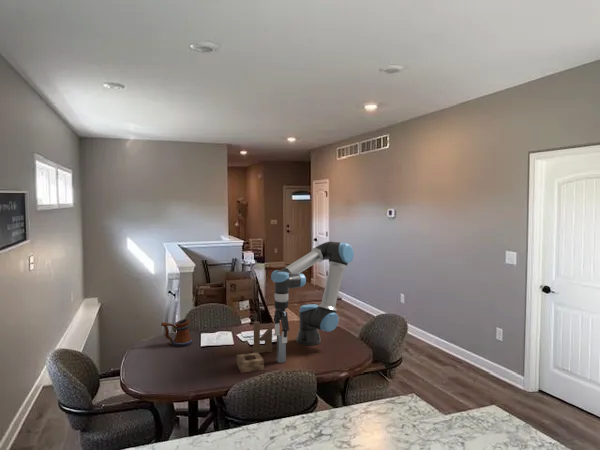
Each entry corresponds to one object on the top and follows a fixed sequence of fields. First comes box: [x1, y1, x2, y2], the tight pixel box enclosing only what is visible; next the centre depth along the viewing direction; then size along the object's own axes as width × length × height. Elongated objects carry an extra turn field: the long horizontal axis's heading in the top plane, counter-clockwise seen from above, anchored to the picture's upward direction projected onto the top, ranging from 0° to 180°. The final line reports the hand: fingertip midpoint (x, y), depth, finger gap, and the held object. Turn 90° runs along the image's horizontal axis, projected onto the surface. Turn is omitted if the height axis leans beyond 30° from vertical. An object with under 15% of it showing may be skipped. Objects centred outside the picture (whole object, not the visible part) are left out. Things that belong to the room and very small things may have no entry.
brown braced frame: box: [252, 321, 273, 354], centre depth 247 cm, size 4×11×18 cm, turn 111°
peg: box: [276, 334, 287, 364], centre depth 233 cm, size 4×4×14 cm
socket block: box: [236, 352, 265, 374], centre depth 225 cm, size 12×12×5 cm
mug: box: [160, 318, 193, 348], centre depth 258 cm, size 18×12×15 cm, turn 108°
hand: (280, 338), depth 232 cm, fingers open, 13 cm apart
